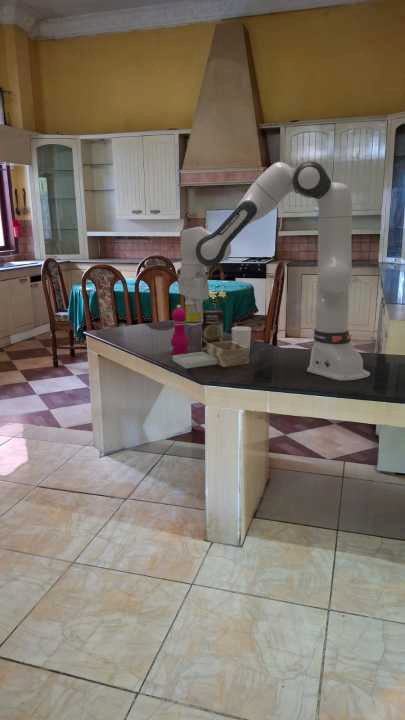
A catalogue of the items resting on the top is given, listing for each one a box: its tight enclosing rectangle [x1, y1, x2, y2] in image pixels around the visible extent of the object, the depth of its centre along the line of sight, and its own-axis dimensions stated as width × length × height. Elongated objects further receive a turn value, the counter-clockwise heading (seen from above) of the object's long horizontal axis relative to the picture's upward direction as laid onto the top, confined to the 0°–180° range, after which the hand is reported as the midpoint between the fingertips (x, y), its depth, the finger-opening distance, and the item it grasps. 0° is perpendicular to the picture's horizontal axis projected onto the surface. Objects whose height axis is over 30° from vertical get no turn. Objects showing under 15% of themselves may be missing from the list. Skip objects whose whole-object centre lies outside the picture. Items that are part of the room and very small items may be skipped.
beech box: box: [206, 340, 250, 368], centre depth 205 cm, size 15×11×6 cm
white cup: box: [231, 326, 252, 353], centre depth 218 cm, size 8×8×10 cm
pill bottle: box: [184, 293, 204, 326], centre depth 200 cm, size 6×6×12 cm
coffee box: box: [200, 309, 224, 352], centre depth 224 cm, size 9×6×16 cm
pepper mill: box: [170, 304, 190, 355], centre depth 217 cm, size 7×7×20 cm
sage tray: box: [172, 351, 219, 369], centre depth 205 cm, size 13×13×2 cm
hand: (194, 309), depth 200 cm, fingers closed on pill bottle, 6 cm apart
